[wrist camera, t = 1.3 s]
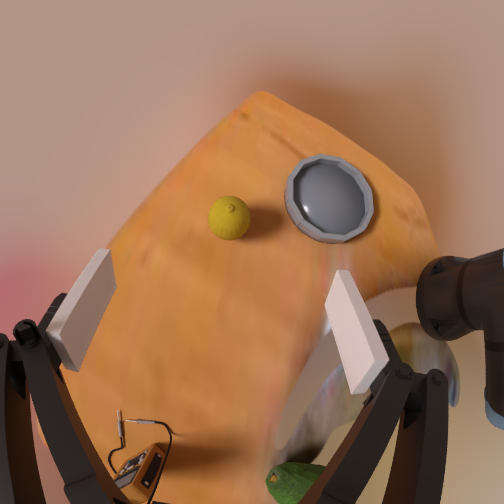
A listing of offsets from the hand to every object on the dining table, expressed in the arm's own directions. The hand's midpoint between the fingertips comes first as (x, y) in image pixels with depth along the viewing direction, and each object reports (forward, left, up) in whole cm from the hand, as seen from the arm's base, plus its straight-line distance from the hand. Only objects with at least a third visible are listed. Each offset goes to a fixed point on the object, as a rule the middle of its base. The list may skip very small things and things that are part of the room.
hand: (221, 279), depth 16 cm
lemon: (0, -10, -24) cm, 26 cm away
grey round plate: (-15, -17, -24) cm, 33 cm away
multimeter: (+13, +24, -24) cm, 36 cm away
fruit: (-14, +28, -24) cm, 40 cm away
